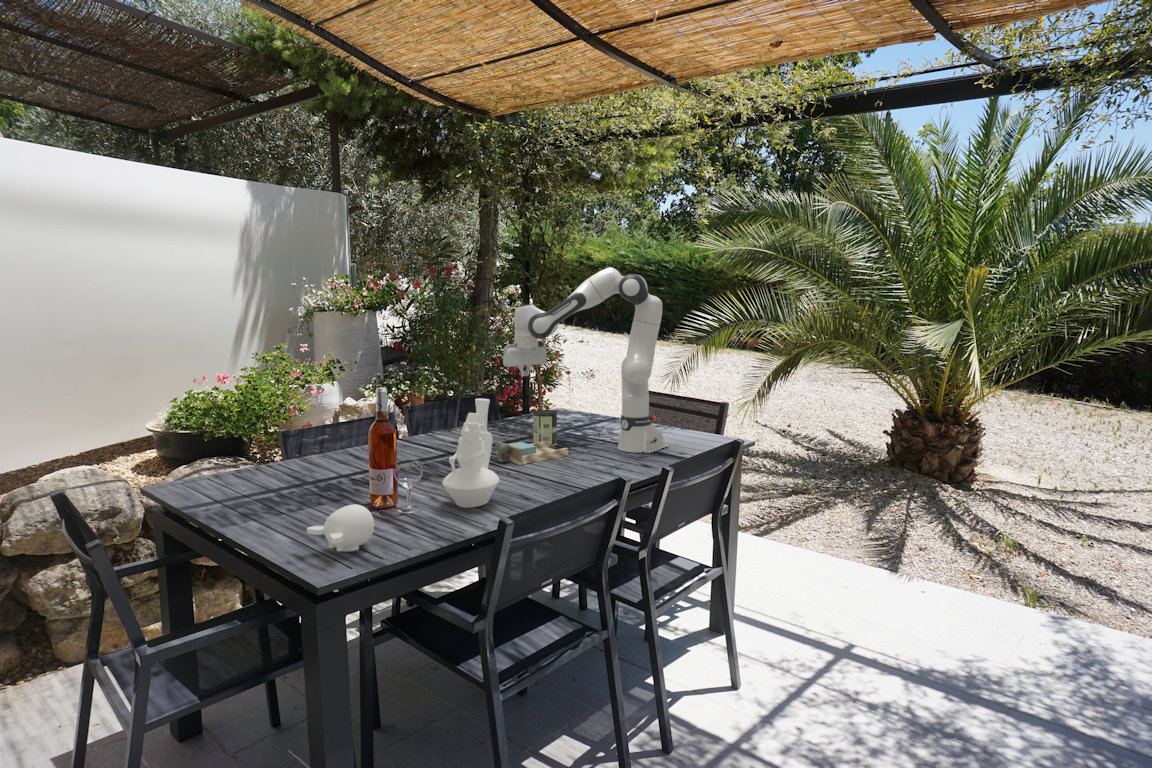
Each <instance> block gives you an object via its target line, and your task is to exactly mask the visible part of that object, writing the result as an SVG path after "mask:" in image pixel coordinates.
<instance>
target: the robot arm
mask: <svg viewBox="0 0 1152 768" xmlns="http://www.w3.org/2000/svg"><path fill="white" fill-rule="evenodd" d="M648 289H649V286H648V283H647V281H646V279H645V278H644V277H643V276H642V275H639V274H637V273H636V274H635V273H630V274H627V275H622V274H621V273H620V272H619V270H617V268H614V267H611V266H610V267H606V268H604V269H601V270H599V271H598V272H596V273H595V274H592V275H591V276H590V277H588V278H587V279H586V280H584V281H583V282H582V283H581V284H580V285H579V286H578V287H576V288H575V290H574V291H573V292H571V293H570V295H569V296H568V297H567V298H566V299H564V300H563V301H561V302H560V303H558V304H557V305H556V306H554V307H552V308H551V309H549V310H547V311H546V310H545V311H544V310H542V309H540V308H538V307H536V306H535V305H534V304H532V303H531V304H530V303H528V304H523V305H519V306H517V308H515V312H514V321H513V324H514V325H513V326H514V331H515V332H514V341H513V343H511V344H510V343H509V344H507V345H505V346H504V347H503V358H502V364H503V367H507V368H510V367H511V368H512V367H513V368H514V367H518V369H519V372H520V376H521V377H529V376H530V371H531V369H532V366H533V365H535V366H536V365H545V364H546V362H547V350H546V342H545V341H542V339H545V338H548V337H549V336H551V335H552V334H554V333H555V332H556V331H557V329H558V327H559V323H561V322H563V321H564V320H566V319H567V318H568V317H570V316H571V315H573V314H575V313H577V312H580V311H584V310H586V309H591V308H593V307H595V306H597V305H599V304H601V303H602V302H603V301H605V300H606V299H608V298H610V297H611V296H613V295H617V294H619V295H620V296H621V297H622V299H624V300H625V301H627V302H630V303H631V304H632V305H634V307H635V308H634V310H635V311H634V315H633V316H634V317H633V320H632V324H631V329H630V333H629V337H628V344H627V352H626V356H625V358H624V359H623V360H622V362H621V366H620V367H621V374H620V375H621V399H622V400H621V415H620V433H619V434H620V435H619V440H618V444H617V449H618V450H619V451H622V452H627V453H642V452H644V453H647V454H651V452H652V453H655V452H658V451H661V450H663V449H662V448H664V449H666V448H665V447H667V448H669V447H670V444H669V443H666V442H665V441H664V435H663V432H662V431H661V430H660V429H658V427H656V426H655V425H654V424H653V423H652V421H654V422H656V420H657V416H656V415H650V414H649V413H650V410H649V409H650V394H649V393H650V392H649V391H650V390H649V379H650V377H651V374H652V370H653V364H654V360H655V359H654V358H655V354H656V353H655V351H656V345H657V341H658V335H659V332H660V327H661V323H662V318H663V317H662V316H663V302H662V299H660V298H659V297H658V296H656V295H652V294H650V293H649V290H648ZM525 368H526V369H525ZM524 369H525V370H524ZM668 446H669V447H668ZM660 449H661V450H660ZM657 450H658V451H657ZM654 451H655V452H654Z"/></svg>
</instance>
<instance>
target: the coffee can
mask: <svg viewBox="0 0 1152 768" xmlns="http://www.w3.org/2000/svg"><path fill="white" fill-rule="evenodd" d="M532 415H533V416H532V419H533V422H532V423H533V424H532V425H533V426H532V427H533V431H532V432H533V443H537V442H543V441H545V442H546V447H549V448H551V447H554V446H557V445H558V411H557V410H554V409H537V410H534V411H532Z"/></svg>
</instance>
